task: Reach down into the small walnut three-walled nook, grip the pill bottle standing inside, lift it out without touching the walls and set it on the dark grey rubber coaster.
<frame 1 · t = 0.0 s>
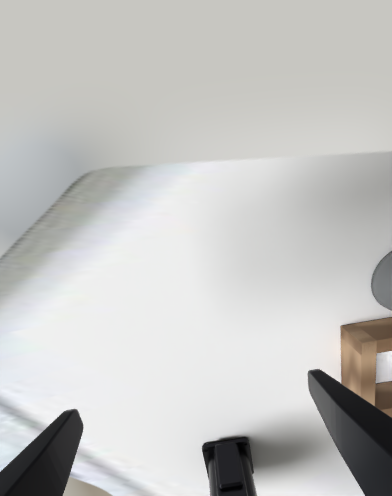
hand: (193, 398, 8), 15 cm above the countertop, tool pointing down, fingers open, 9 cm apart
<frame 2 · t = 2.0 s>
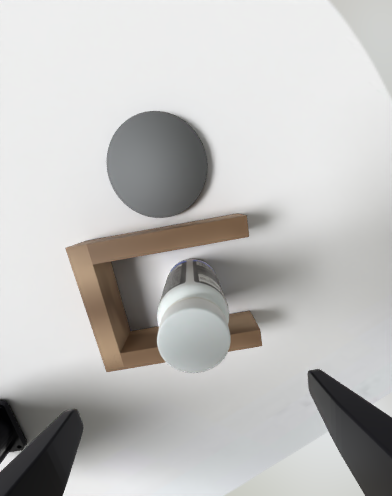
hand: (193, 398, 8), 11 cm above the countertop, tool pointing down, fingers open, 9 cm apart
nook: (192, 282, 19), on the countertop
pill bottle: (192, 281, 19), on the countertop
coaster: (158, 168, 16), on the countertop
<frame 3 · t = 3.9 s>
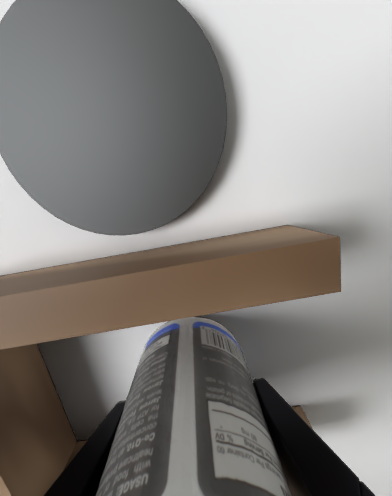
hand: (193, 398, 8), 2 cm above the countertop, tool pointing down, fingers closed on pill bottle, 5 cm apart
nook: (192, 357, 9), on the countertop
pill bottle: (192, 354, 10), on the countertop, touching gripper
coaster: (115, 125, 7), on the countertop
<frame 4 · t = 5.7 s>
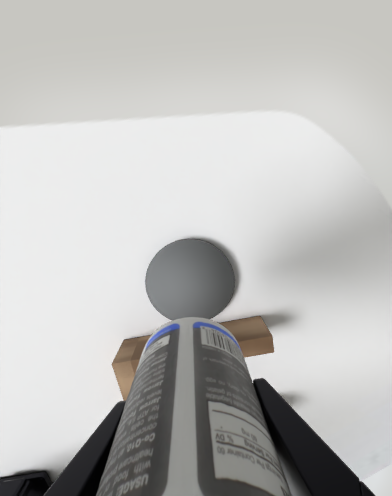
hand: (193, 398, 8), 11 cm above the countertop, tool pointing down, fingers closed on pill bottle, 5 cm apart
nook: (218, 371, 20), on the countertop
pill bottle: (192, 354, 10), point 9 cm above the countertop, touching gripper
coaster: (190, 281, 18), on the countertop
when the fingers open (4 cm above the countertop, at t = 7.7 s): pill bottle drops 1 cm, resting on coaster.
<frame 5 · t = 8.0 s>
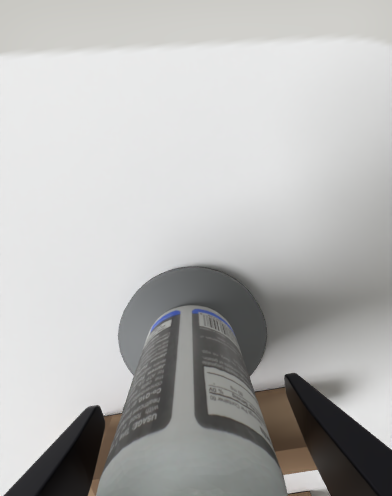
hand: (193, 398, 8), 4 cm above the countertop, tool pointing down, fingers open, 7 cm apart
nook: (234, 462, 13), on the countertop
pill bottle: (192, 339, 11), resting on coaster
coaster: (192, 333, 11), on the countertop
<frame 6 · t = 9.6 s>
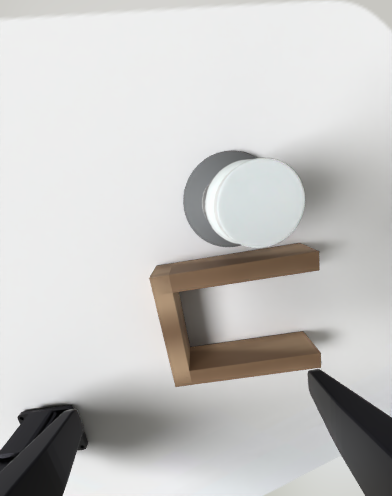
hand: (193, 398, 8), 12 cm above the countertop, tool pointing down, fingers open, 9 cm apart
nook: (251, 304, 20), on the countertop
pill bottle: (229, 202, 17), resting on coaster
coaster: (229, 201, 17), on the countertop
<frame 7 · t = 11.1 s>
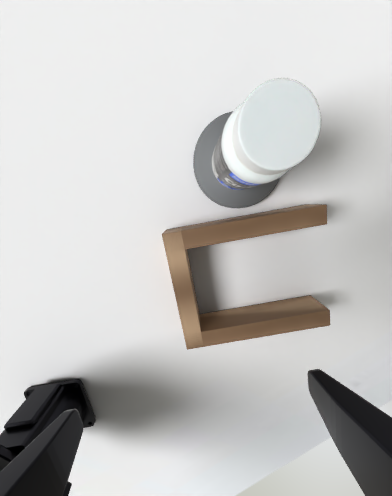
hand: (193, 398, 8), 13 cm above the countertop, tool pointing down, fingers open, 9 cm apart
nook: (260, 268, 20), on the countertop
pill bottle: (237, 163, 18), resting on coaster
coaster: (237, 163, 18), on the countertop
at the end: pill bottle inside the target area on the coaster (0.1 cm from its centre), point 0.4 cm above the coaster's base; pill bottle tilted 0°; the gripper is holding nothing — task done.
